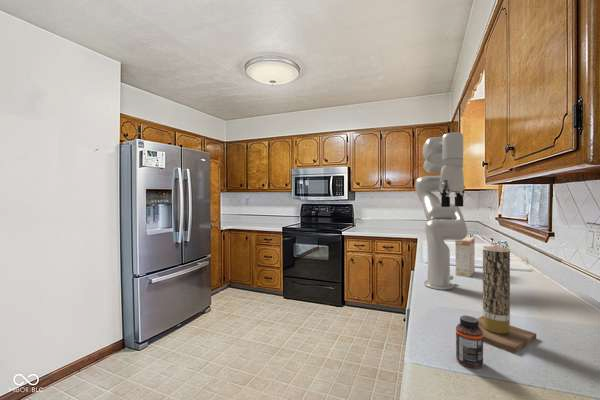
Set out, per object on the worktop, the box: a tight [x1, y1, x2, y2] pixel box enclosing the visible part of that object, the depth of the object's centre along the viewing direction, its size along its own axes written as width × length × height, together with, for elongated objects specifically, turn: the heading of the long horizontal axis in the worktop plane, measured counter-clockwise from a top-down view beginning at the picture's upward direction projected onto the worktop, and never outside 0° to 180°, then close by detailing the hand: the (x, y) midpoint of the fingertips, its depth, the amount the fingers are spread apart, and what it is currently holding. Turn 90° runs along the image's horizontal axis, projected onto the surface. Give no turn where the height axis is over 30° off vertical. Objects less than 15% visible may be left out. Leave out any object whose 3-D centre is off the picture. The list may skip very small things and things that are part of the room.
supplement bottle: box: [455, 315, 484, 369], centre depth 73 cm, size 6×6×11 cm
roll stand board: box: [477, 316, 537, 354], centre depth 88 cm, size 15×15×2 cm
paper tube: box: [482, 245, 511, 334], centre depth 88 cm, size 7×7×25 cm
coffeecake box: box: [454, 236, 476, 278], centre depth 160 cm, size 15×7×20 cm, turn 139°
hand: (452, 206), depth 116 cm, fingers open, 9 cm apart
